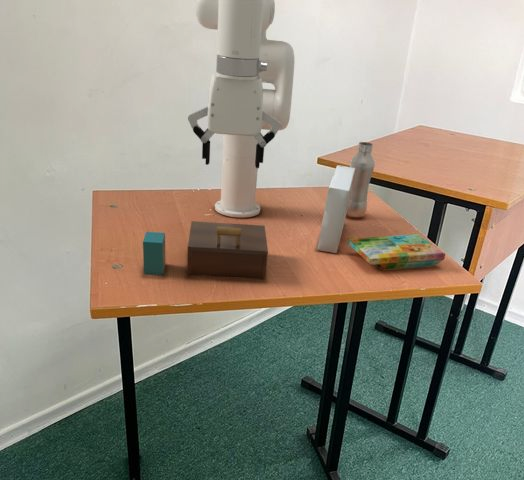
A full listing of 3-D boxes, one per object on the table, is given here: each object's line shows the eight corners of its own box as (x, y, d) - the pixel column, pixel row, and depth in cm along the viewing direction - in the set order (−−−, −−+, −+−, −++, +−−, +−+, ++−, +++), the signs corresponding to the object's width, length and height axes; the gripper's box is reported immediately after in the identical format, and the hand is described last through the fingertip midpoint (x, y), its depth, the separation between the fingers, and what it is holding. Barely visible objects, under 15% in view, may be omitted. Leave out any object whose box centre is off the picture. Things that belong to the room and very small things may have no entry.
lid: (267, 254, 122) (269, 234, 120) (187, 250, 121) (187, 229, 118) (264, 228, 134) (266, 209, 132) (191, 224, 133) (191, 204, 130)
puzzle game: (446, 250, 138) (370, 255, 132) (441, 268, 140) (367, 274, 134) (420, 231, 147) (348, 235, 141) (416, 249, 150) (345, 253, 143)
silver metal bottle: (342, 210, 170) (353, 139, 159) (365, 214, 169) (378, 142, 158) (340, 218, 164) (352, 144, 153) (364, 221, 163) (377, 148, 153)
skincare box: (338, 254, 142) (349, 190, 134) (316, 251, 143) (325, 186, 135) (345, 225, 160) (355, 166, 151) (326, 222, 161) (334, 163, 152)
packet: (163, 278, 124) (162, 242, 120) (143, 277, 124) (142, 241, 120) (165, 267, 129) (165, 232, 125) (147, 266, 128) (146, 231, 124)
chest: (264, 282, 126) (267, 253, 123) (187, 278, 125) (187, 248, 121) (261, 256, 138) (264, 229, 134) (190, 252, 136) (191, 224, 133)
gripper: (284, 68, 108) (275, 162, 118) (189, 60, 107) (188, 156, 116) (287, 75, 102) (278, 173, 111) (187, 66, 101) (186, 167, 110)
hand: (232, 164), depth 114 cm, fingers open, 9 cm apart
